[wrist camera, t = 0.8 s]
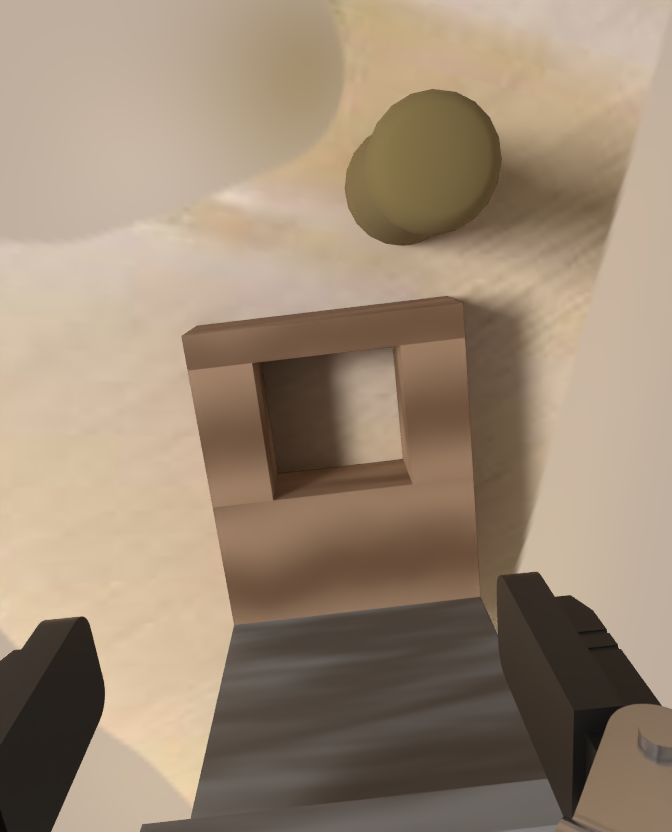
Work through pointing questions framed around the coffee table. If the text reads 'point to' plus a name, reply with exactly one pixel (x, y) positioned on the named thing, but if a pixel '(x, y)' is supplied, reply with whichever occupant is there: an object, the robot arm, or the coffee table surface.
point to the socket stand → (355, 602)
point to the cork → (424, 168)
